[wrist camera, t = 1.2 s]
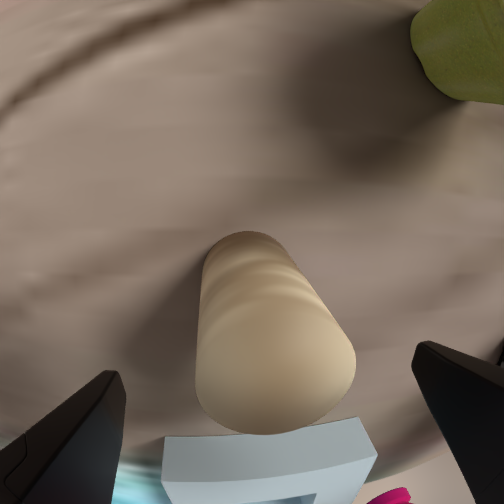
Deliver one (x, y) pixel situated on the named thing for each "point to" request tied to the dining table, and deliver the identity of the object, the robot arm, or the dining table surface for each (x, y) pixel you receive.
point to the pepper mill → (392, 497)
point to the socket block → (270, 466)
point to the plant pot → (462, 47)
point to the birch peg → (266, 341)
